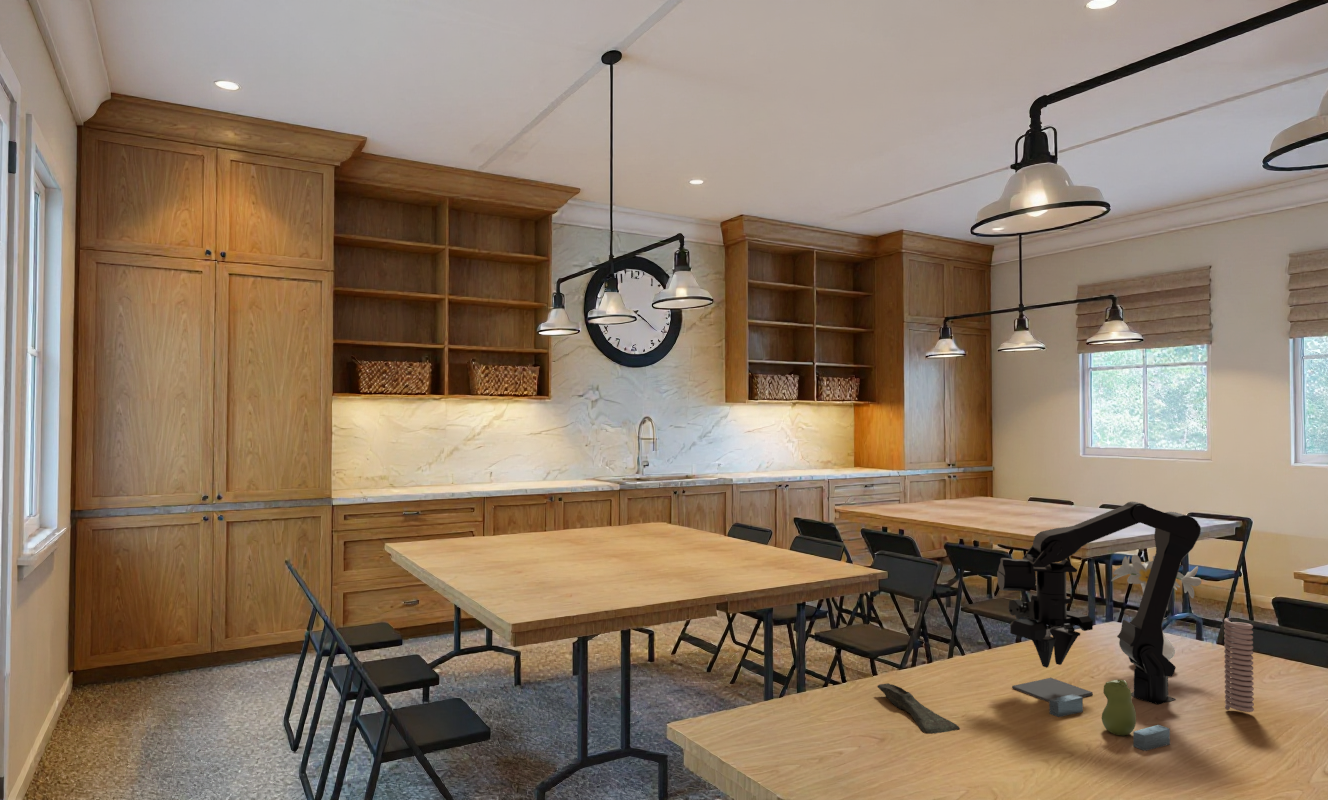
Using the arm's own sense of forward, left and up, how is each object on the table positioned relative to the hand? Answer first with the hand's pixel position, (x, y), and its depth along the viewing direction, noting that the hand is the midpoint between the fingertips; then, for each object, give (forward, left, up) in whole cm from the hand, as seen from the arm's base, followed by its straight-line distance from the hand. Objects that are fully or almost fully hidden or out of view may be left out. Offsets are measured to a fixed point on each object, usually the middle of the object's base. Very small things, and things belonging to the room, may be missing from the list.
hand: (1052, 665), depth 167 cm
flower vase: (-39, -3, -6) cm, 39 cm away
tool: (+33, -4, -6) cm, 34 cm away
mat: (0, 0, -6) cm, 6 cm away
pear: (+8, +20, -6) cm, 23 cm away
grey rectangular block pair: (+8, +18, -6) cm, 20 cm away
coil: (-24, +23, -6) cm, 34 cm away
